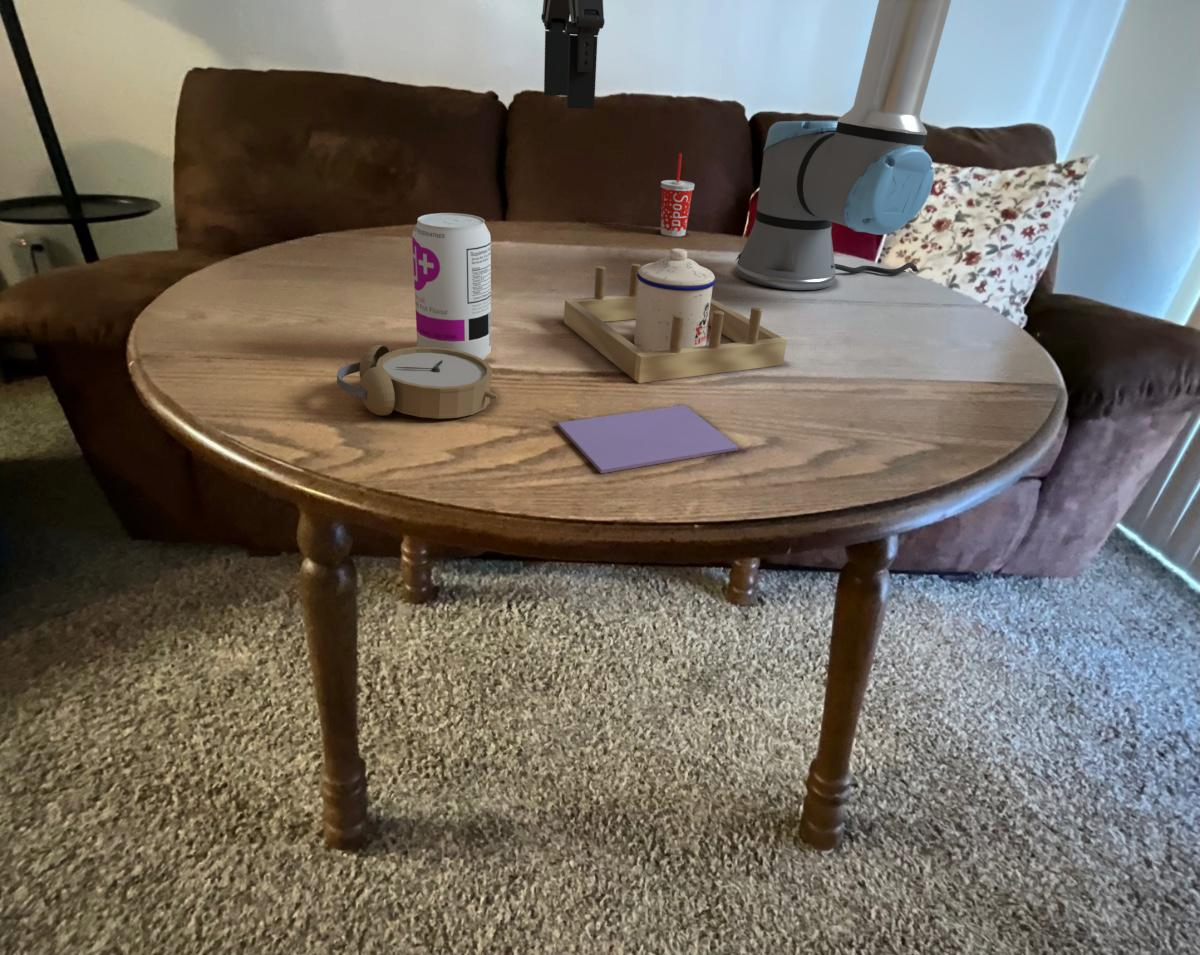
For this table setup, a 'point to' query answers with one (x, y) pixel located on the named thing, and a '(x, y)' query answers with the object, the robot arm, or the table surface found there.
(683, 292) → the teacup with lid
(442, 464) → the table surface
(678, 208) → the beverage cup
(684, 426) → the mat
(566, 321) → the rack
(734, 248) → the table surface
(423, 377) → the alarm clock
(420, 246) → the supplement can
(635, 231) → the table surface
